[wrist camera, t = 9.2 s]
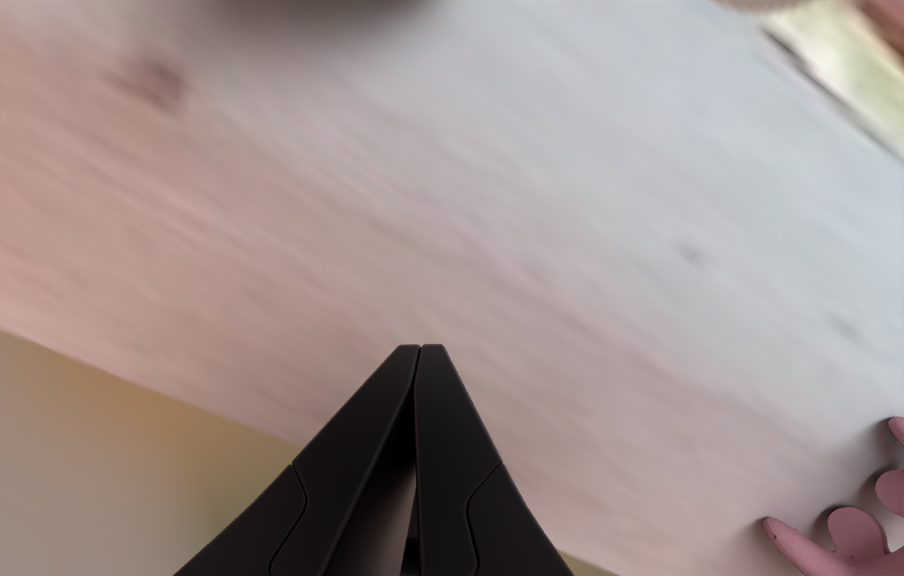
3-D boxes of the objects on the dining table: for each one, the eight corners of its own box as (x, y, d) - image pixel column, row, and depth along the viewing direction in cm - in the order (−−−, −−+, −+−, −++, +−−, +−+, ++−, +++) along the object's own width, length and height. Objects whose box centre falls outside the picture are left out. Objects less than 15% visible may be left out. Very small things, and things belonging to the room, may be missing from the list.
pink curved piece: (779, 524, 31) (894, 652, 26) (748, 527, 28) (870, 670, 23) (919, 415, 27) (1085, 538, 22) (899, 405, 24) (1083, 544, 19)
